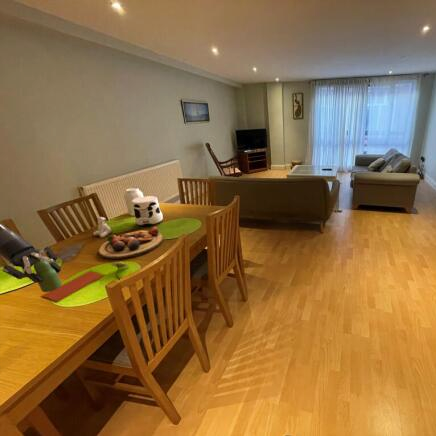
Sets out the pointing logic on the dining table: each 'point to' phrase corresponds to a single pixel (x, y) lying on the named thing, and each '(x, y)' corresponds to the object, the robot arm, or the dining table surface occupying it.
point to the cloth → (72, 286)
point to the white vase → (131, 198)
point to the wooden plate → (130, 244)
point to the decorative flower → (119, 266)
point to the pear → (47, 276)
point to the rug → (68, 252)
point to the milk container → (147, 210)
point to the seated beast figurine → (102, 228)
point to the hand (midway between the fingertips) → (50, 276)
